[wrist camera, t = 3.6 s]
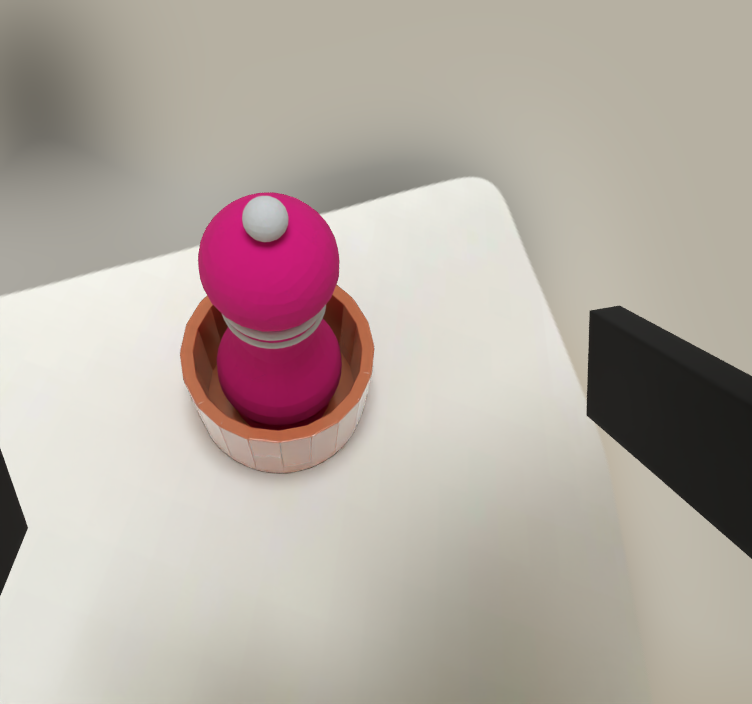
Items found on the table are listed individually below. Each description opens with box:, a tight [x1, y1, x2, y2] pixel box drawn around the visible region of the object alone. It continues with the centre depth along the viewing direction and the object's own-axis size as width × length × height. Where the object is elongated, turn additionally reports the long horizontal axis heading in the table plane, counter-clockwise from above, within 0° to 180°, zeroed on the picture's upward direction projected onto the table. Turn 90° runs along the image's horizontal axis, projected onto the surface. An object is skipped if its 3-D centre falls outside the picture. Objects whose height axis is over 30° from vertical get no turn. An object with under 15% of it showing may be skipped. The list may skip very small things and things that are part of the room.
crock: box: [180, 285, 374, 473], centre depth 41 cm, size 11×11×7 cm
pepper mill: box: [198, 193, 342, 431], centre depth 35 cm, size 7×7×20 cm
